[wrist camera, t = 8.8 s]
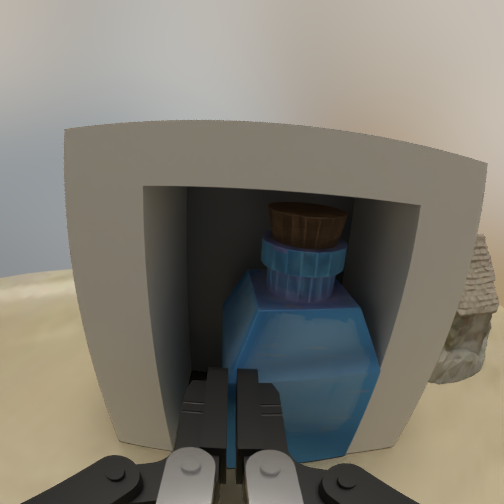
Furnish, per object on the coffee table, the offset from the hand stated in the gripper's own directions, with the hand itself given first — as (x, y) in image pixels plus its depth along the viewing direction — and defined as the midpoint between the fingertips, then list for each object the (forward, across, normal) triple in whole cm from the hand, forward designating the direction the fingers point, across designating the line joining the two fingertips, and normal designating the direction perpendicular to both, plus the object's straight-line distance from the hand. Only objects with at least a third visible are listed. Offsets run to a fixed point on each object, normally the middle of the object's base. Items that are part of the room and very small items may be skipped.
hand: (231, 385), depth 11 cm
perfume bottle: (+3, -3, +6) cm, 8 cm away
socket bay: (+5, -2, +6) cm, 8 cm away
